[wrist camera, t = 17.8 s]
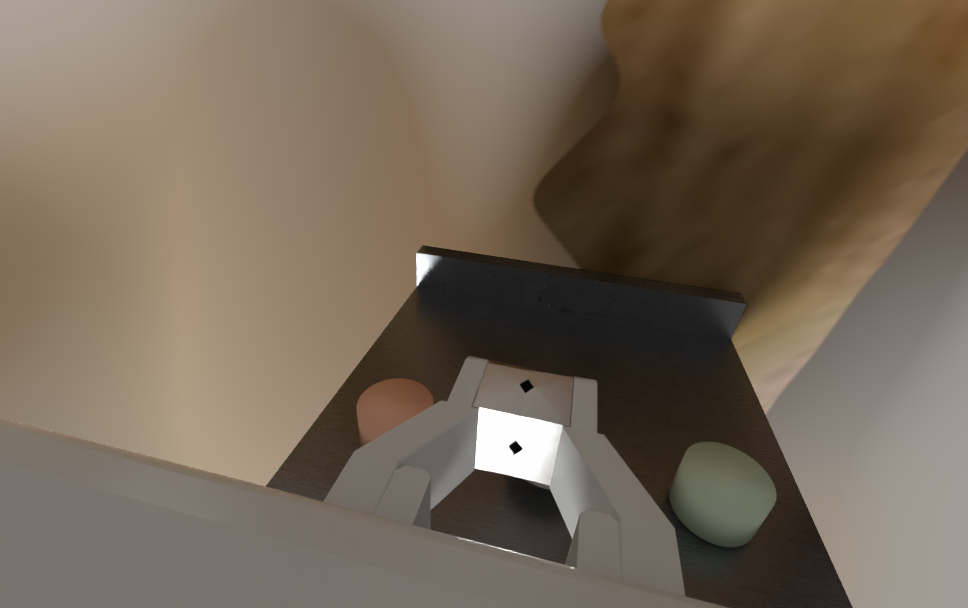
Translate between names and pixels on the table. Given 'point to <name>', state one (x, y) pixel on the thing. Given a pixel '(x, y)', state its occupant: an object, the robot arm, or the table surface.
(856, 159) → the table surface
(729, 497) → the sage button
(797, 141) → the table surface
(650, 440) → the button panel
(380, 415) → the terracotta button
